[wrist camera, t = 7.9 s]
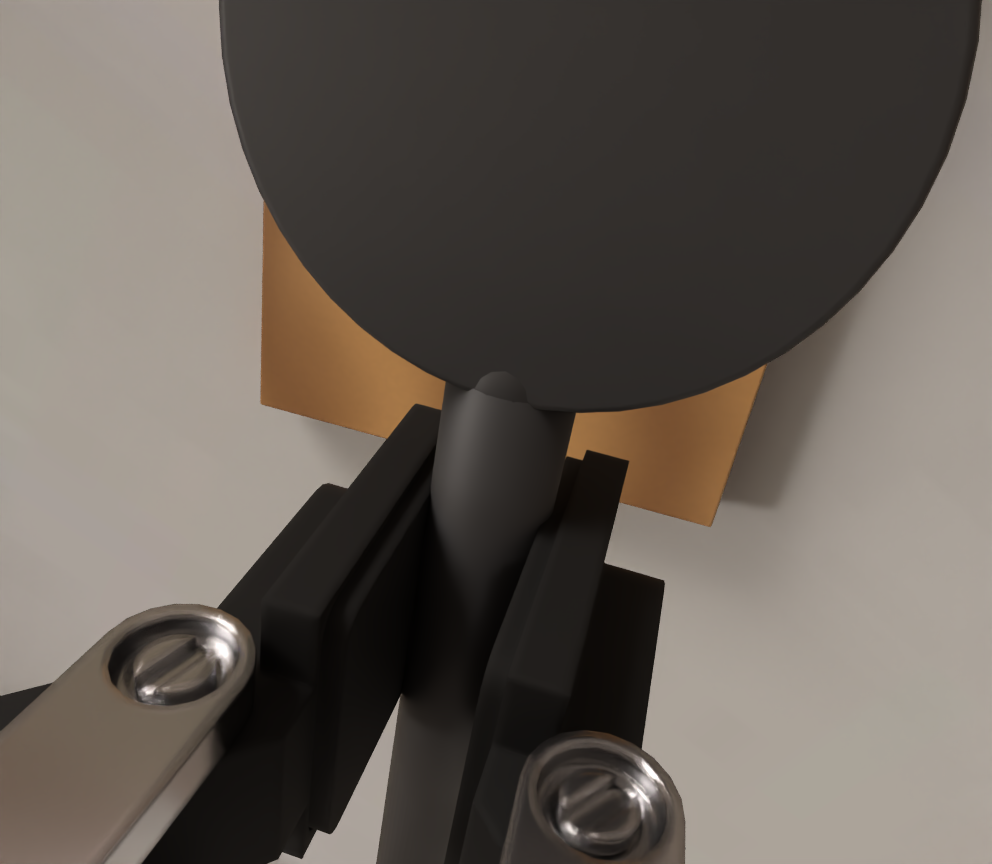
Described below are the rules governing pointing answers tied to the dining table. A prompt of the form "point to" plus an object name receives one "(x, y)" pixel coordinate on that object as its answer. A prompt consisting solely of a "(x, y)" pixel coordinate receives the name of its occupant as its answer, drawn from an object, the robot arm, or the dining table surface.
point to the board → (399, 385)
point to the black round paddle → (575, 240)
